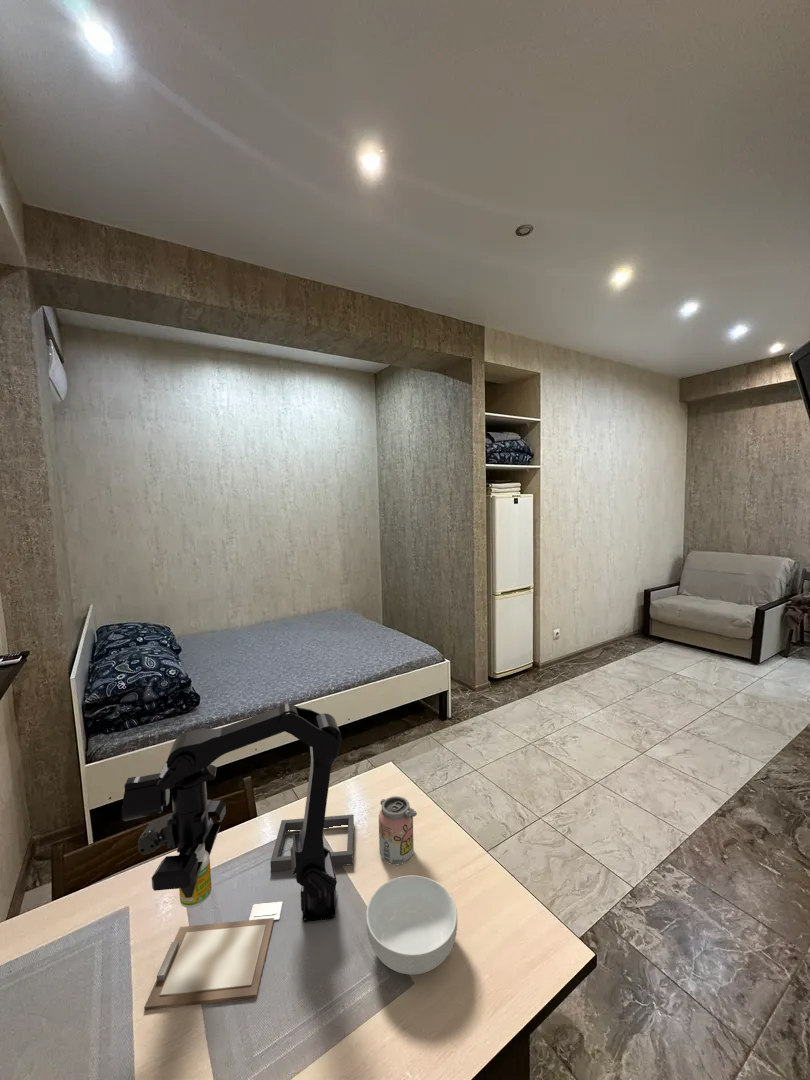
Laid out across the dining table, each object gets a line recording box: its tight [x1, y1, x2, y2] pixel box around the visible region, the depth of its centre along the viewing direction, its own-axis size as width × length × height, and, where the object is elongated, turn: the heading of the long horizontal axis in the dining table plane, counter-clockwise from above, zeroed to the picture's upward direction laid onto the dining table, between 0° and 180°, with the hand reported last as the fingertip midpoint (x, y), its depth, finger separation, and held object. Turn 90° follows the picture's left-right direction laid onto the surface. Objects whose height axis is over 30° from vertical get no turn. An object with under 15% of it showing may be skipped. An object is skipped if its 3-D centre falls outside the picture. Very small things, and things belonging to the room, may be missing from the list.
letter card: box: [248, 901, 283, 922], centre depth 89 cm, size 6×4×1 cm, turn 95°
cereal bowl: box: [365, 874, 458, 976], centre depth 82 cm, size 17×17×7 cm
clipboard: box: [143, 918, 275, 1011], centre depth 80 cm, size 18×14×2 cm
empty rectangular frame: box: [270, 813, 355, 873], centre depth 107 cm, size 18×13×2 cm
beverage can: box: [378, 795, 418, 865], centre depth 104 cm, size 9×8×12 cm
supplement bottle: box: [178, 843, 212, 909], centre depth 82 cm, size 5×5×10 cm
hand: (195, 883), depth 82 cm, fingers closed on supplement bottle, 5 cm apart
